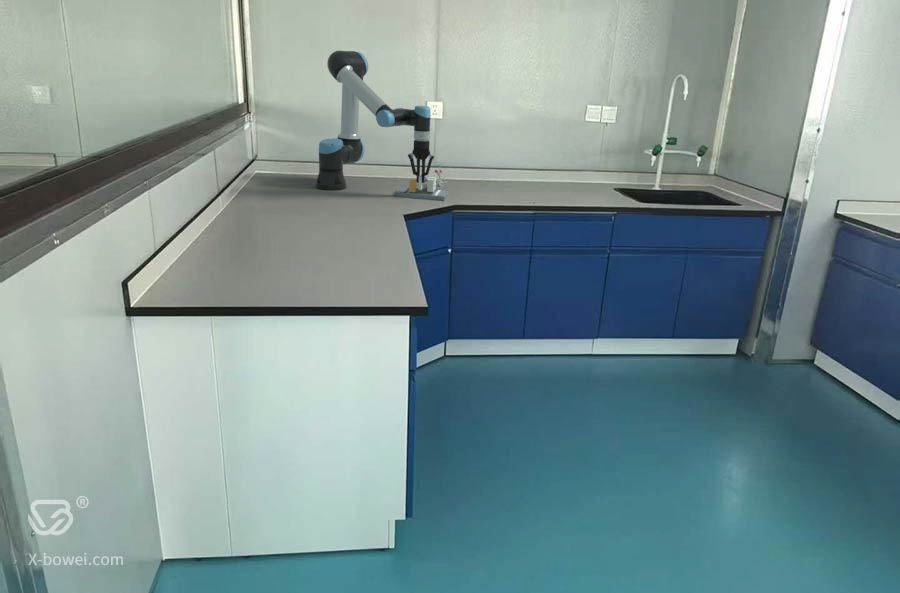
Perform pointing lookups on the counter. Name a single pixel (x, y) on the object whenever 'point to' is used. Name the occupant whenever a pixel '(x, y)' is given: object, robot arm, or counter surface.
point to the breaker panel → (424, 192)
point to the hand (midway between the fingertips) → (420, 189)
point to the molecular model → (437, 178)
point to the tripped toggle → (412, 185)
